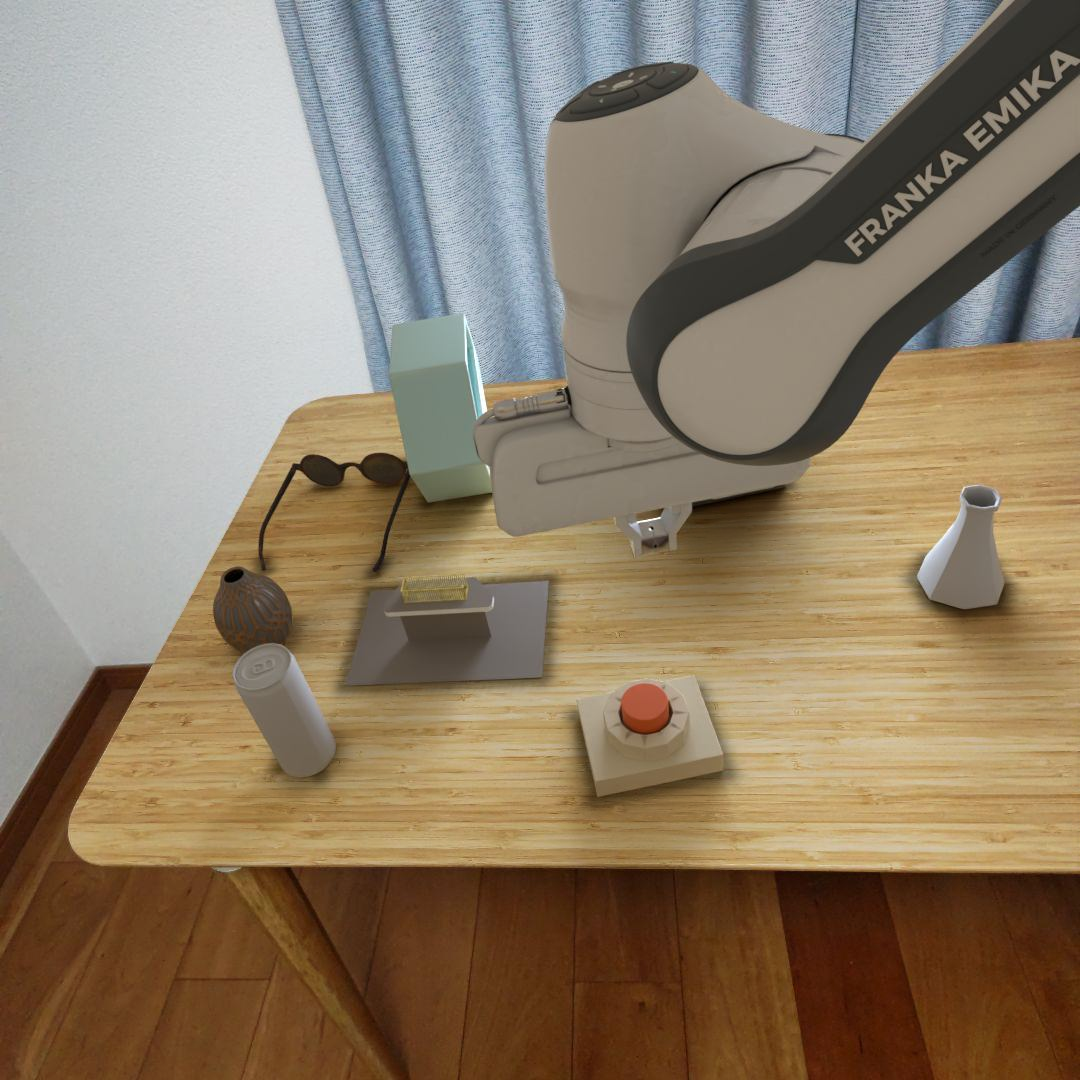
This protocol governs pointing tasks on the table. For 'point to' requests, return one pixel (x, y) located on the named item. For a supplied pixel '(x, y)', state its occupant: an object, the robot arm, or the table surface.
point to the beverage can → (284, 709)
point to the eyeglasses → (331, 474)
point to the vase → (251, 610)
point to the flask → (966, 555)
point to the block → (649, 739)
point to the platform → (451, 632)
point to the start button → (645, 708)
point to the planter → (439, 405)
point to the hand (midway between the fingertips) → (653, 547)
